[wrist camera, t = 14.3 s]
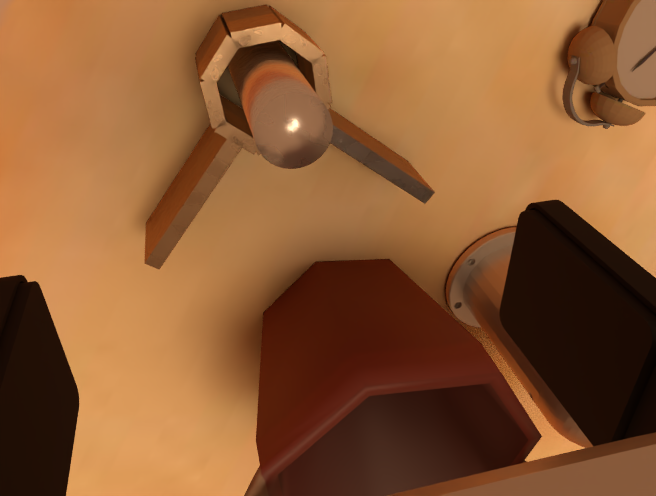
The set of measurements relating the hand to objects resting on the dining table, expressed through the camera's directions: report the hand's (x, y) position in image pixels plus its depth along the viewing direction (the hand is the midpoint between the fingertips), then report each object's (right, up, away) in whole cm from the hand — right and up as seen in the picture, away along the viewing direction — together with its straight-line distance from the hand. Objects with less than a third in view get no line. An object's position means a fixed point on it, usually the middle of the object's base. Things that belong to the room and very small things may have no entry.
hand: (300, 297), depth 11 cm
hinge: (-4, +8, +36) cm, 37 cm away
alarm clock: (+26, +19, +38) cm, 50 cm away
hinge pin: (-5, +15, +31) cm, 35 cm away
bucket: (+2, -6, +47) cm, 48 cm away
